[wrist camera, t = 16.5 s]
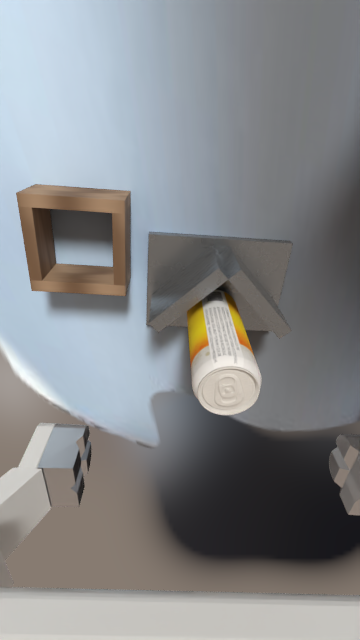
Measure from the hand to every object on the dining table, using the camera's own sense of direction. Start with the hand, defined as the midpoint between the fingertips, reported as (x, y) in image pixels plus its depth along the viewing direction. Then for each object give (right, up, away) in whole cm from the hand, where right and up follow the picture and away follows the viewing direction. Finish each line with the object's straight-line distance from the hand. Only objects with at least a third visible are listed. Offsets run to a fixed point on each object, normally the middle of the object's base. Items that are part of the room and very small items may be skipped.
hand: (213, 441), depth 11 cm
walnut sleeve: (-11, +14, +27) cm, 32 cm away
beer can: (+3, +5, +31) cm, 32 cm away
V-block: (+3, +8, +30) cm, 31 cm away
